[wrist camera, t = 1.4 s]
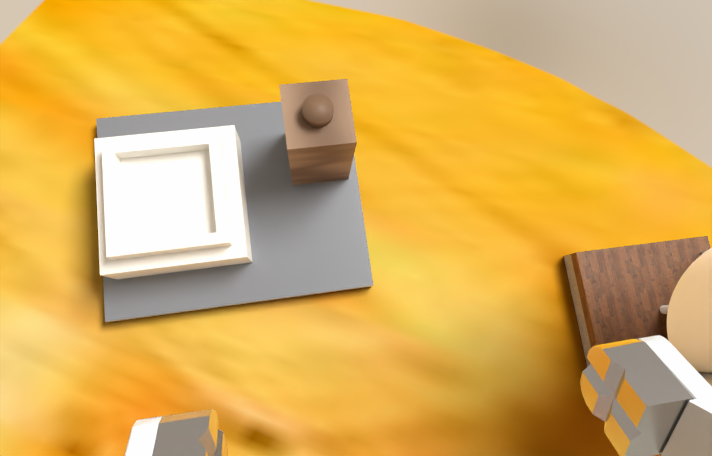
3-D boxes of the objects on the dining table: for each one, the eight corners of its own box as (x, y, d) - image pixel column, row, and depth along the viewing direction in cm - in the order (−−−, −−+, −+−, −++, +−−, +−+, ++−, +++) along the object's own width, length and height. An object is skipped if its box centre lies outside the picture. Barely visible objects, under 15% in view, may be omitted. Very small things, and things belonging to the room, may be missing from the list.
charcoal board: (110, 322, 37) (104, 321, 36) (101, 124, 40) (96, 118, 39) (371, 286, 39) (373, 285, 38) (344, 101, 42) (345, 95, 41)
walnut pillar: (292, 185, 39) (286, 144, 30) (286, 132, 40) (278, 78, 31) (348, 179, 39) (357, 137, 31) (341, 127, 40) (348, 72, 32)
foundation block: (117, 279, 36) (92, 273, 32) (111, 153, 38) (86, 131, 34) (252, 262, 37) (244, 254, 33) (240, 140, 39) (231, 118, 35)
